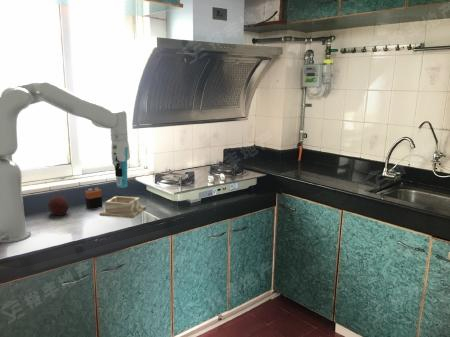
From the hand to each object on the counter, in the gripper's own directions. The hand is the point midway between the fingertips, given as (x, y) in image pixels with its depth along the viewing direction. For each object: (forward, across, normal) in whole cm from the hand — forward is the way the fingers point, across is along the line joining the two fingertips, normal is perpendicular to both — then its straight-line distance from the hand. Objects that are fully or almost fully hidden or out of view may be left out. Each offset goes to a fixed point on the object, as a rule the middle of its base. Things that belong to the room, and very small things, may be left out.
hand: (121, 174), depth 183 cm
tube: (+6, 0, 0) cm, 6 cm away
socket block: (+18, 0, 0) cm, 18 cm away
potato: (+19, -10, +28) cm, 35 cm away
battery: (+19, +3, +17) cm, 25 cm away
